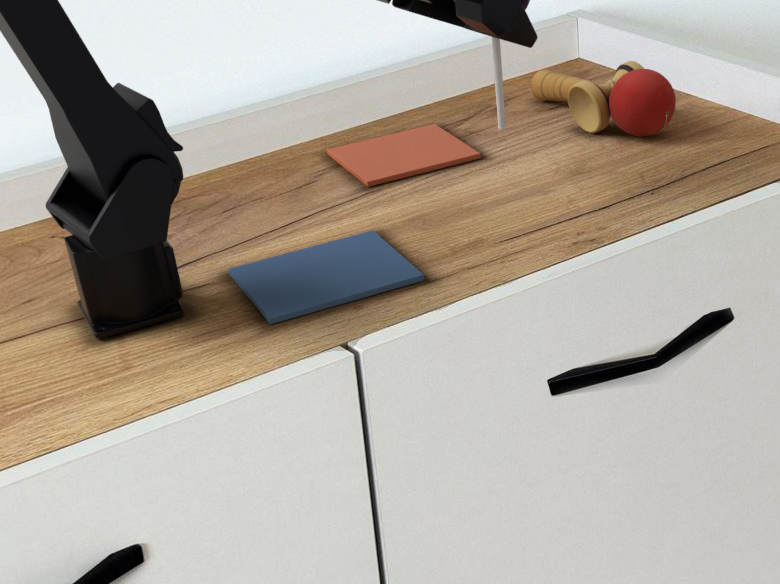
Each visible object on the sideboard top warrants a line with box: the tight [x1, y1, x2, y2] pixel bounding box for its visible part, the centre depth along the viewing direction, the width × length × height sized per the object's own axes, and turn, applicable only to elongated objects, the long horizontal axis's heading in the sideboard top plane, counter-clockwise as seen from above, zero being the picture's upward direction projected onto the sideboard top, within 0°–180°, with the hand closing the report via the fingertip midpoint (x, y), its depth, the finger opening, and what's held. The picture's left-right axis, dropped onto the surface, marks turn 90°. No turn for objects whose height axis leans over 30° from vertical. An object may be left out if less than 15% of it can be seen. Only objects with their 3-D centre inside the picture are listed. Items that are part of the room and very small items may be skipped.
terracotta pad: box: [326, 123, 482, 188], centre depth 120 cm, size 11×10×1 cm
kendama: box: [530, 60, 677, 137], centre depth 124 cm, size 8×6×18 cm
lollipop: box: [453, 0, 531, 131], centre depth 107 cm, size 7×7×15 cm
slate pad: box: [227, 229, 425, 325], centre depth 99 cm, size 12×10×1 cm
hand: (509, 35), depth 108 cm, fingers closed on lollipop, 6 cm apart
